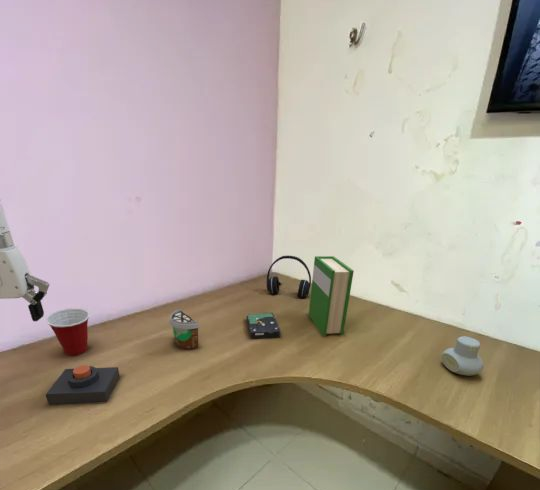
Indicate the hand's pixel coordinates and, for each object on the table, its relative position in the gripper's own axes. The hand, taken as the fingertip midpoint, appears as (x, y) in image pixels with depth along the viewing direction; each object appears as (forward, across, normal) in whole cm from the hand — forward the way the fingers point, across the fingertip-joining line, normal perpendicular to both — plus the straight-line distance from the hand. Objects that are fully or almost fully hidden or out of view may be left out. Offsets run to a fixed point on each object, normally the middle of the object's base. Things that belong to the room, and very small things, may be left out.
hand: (15, 319), depth 68 cm
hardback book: (+20, +83, +33) cm, 92 cm away
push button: (+16, +11, 0) cm, 19 cm away
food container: (+20, +32, +21) cm, 43 cm away
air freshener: (+20, +116, +2) cm, 118 cm away
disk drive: (+20, +59, +31) cm, 70 cm away
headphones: (+20, +74, +63) cm, 99 cm away
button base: (+20, +11, 0) cm, 23 cm away
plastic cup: (+20, +1, +19) cm, 28 cm away
